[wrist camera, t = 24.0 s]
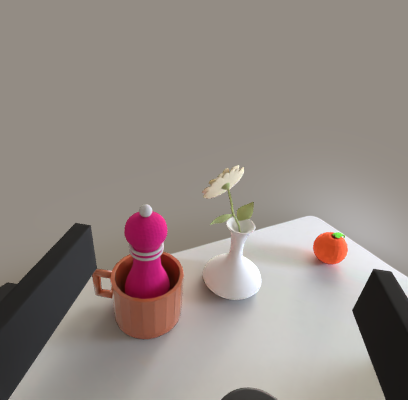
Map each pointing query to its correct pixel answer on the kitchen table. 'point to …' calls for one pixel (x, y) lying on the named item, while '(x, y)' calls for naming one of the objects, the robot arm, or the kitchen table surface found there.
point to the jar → (248, 395)
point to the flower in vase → (232, 246)
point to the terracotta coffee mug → (143, 308)
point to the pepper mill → (146, 254)
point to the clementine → (330, 247)
